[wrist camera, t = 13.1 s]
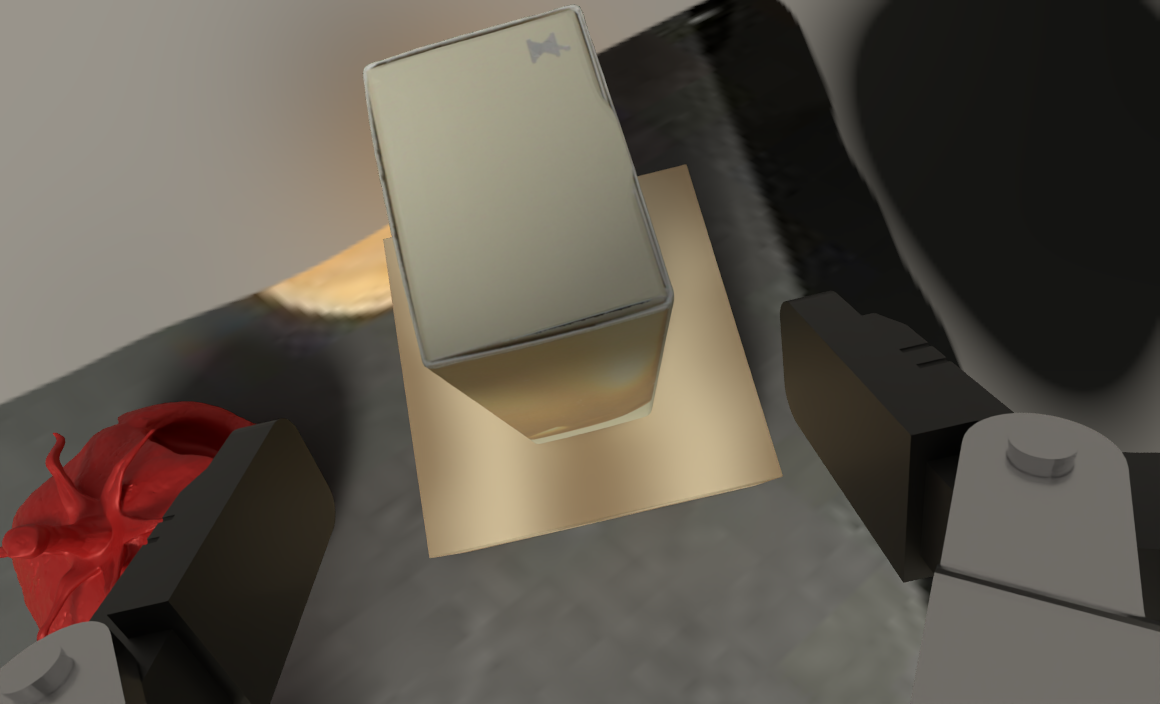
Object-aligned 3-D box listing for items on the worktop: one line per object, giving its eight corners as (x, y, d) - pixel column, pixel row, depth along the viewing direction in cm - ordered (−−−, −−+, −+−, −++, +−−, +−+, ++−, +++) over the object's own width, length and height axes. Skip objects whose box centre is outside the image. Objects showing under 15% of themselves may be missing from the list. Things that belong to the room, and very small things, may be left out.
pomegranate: (352, 634, 26) (203, 702, 17) (117, 674, 26) (-157, 761, 17) (337, 398, 28) (200, 345, 19) (122, 436, 28) (-113, 402, 19)
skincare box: (495, 288, 23) (349, 47, 12) (608, 256, 23) (577, -18, 11) (536, 456, 21) (411, 375, 10) (658, 423, 21) (682, 300, 10)
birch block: (678, 224, 29) (686, 164, 24) (755, 485, 25) (782, 476, 21) (425, 286, 29) (383, 239, 24) (468, 551, 26) (429, 558, 21)
